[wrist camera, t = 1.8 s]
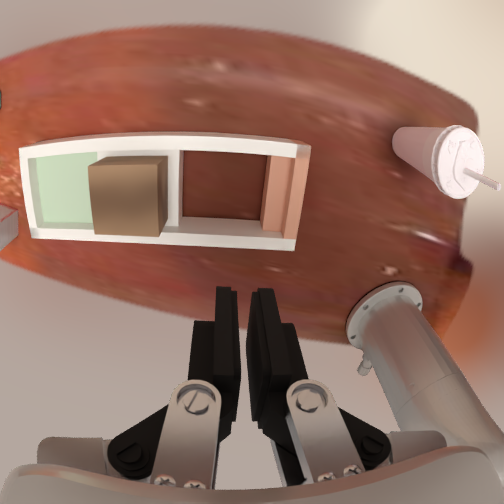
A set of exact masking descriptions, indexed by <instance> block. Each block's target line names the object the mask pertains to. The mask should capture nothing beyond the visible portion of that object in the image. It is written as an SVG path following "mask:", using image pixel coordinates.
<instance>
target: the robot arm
mask: <svg viewBox="0 0 504 504" xmlns="http://www.w3.org/2000/svg"><path fill="white" fill-rule="evenodd" d="M421 309H422V297H421V294H420V293H419V291H418V290H417V289H416V288H415V286H413V285H412V284H410V283H407V282H392V283H388V284H385V285H383V286H381V287H378V288H376V289H375V290H373V291H372V292H370V293H368V294H367V295H366V296H365V297H364V298H362V299H361V300H360V302H359V303H358V304H357V305H356V306H355V307H354V309H353V310H352V312H351V313H350V315H349V317H348V320H347V323H346V334H347V337H348V339H349V342H350V343H351V344H352V345H353V346H354V347H356V348H358V349H361V350H362V351H363V352H364V354H363V361H362V362H361V364H360V366H359V368H358V370H357V371H358V373H359V374H360V375H363V376H365V375H367V374H368V372H369V371H370V369H371V367H372V366H373V368H374V370H375V372H376V375H377V377H378V379H379V381H380V383H381V386H382V388H383V391H384V393H385V395H386V397H387V400H388V402H389V404H390V407H391V409H392V412H393V414H394V417H395V419H396V421H397V423H398V426H399V428H400V430H401V431H400V432H397V431H396V432H394V431H392V432H390V433H389V434H385V433H383V432H382V431H381V430H379V429H377V428H375V427H373V426H371V425H369V424H368V423H366V422H364V421H362V420H360V419H358V418H357V417H355V416H353V415H351V414H349V413H347V412H346V411H344V410H342V409H341V408H339V407H337V404H336V403H335V400H334V398H333V395H332V393H331V392H330V390H329V389H328V388H327V387H326V386H325V385H324V384H322V383H320V382H318V381H315V380H310V379H308V375H307V372H306V368H305V364H304V360H303V357H302V353H301V349H300V345H299V341H298V338H297V334H296V330H295V327H294V324H293V323H281V320H280V316H279V311H278V307H277V302H276V298H275V294H274V290H273V289H272V288H258V291H257V292H252V298H251V306H250V314H249V322H248V330H247V338H246V356H247V368H248V380H249V392H250V403H251V415H252V421H258V429H263V434H265V435H266V436H267V437H269V438H270V439H271V440H270V441H271V445H272V449H273V453H274V456H275V460H276V464H277V468H278V471H279V475H280V478H281V482H282V485H283V487H280V488H268V489H250V490H215V483H216V474H217V466H218V457H219V449H220V442H221V441H222V440H224V439H225V438H226V437H227V436H228V435H230V434H231V424H232V421H233V422H234V421H236V414H237V406H238V398H239V390H240V382H241V361H240V360H241V359H240V342H239V325H238V306H237V291H231V287H219V286H216V306H215V321H196V320H195V321H194V327H193V335H192V344H191V353H190V362H189V372H188V381H185V382H183V383H181V384H179V385H178V386H177V387H176V388H175V389H174V391H173V393H172V395H171V398H170V402H169V404H168V405H167V406H165V407H163V408H162V409H160V410H159V411H157V412H155V413H154V414H152V415H151V416H149V417H148V418H146V419H145V420H143V421H141V422H139V423H138V424H136V425H135V426H133V427H131V428H130V429H128V430H126V431H125V432H123V433H121V434H120V435H118V436H116V437H115V438H114V439H111V440H103V438H70V437H68V438H67V437H48V438H45V439H43V440H42V441H41V442H40V444H39V445H38V450H37V464H28V465H22V466H19V467H17V468H15V469H14V470H13V471H11V472H10V474H9V475H8V477H7V479H6V481H5V483H4V485H3V488H2V491H1V494H0V504H504V433H503V432H502V431H501V429H500V428H499V427H498V425H497V424H496V423H495V421H494V420H493V419H492V418H491V416H490V415H489V413H488V412H487V411H486V409H485V408H484V406H483V405H482V403H481V402H480V400H479V399H478V397H477V395H476V394H475V392H474V391H473V389H472V387H471V386H470V384H469V383H468V381H467V379H466V378H465V376H464V374H463V373H462V371H461V370H460V368H459V367H458V365H457V363H456V362H455V360H454V359H453V357H452V356H451V354H450V353H449V351H448V350H447V348H446V347H445V345H444V344H443V342H442V341H441V339H440V338H439V336H438V335H437V334H436V332H435V331H434V329H433V328H432V326H431V325H430V324H429V322H428V321H427V319H426V318H425V317H424V315H423V314H422V313H421Z"/></svg>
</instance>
